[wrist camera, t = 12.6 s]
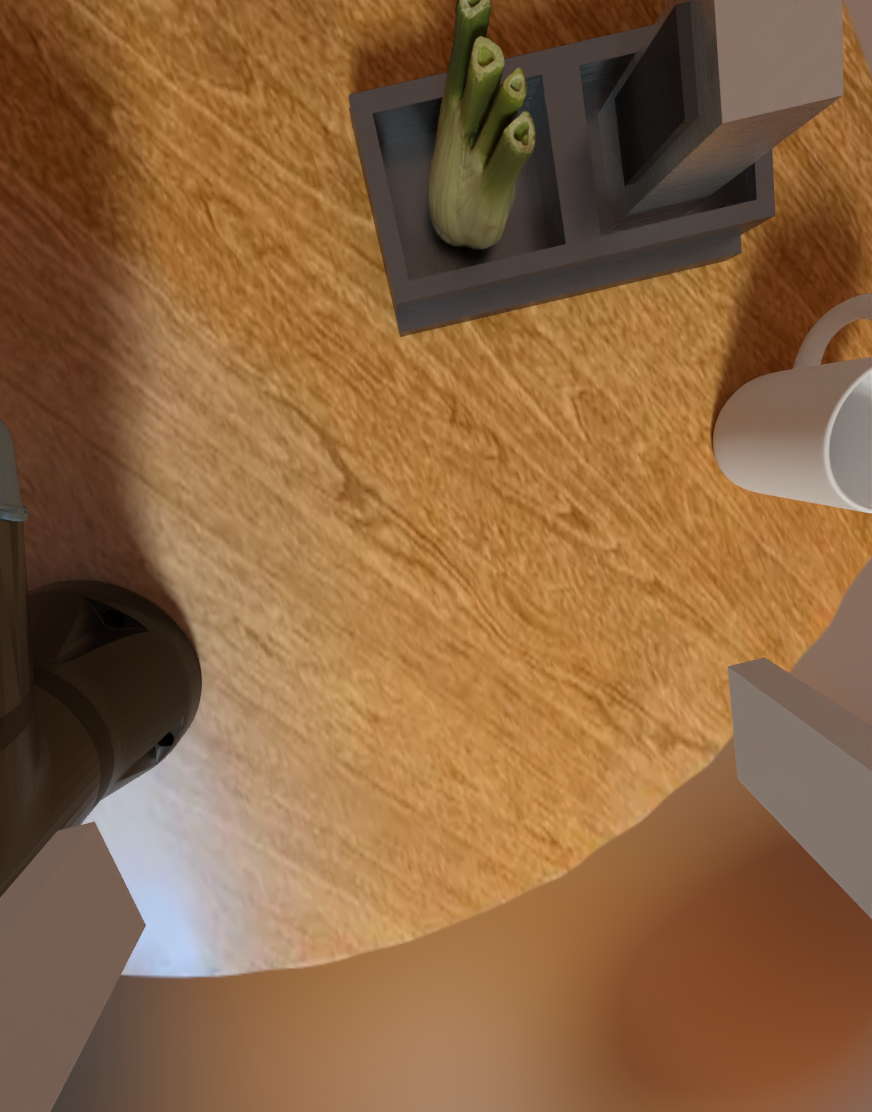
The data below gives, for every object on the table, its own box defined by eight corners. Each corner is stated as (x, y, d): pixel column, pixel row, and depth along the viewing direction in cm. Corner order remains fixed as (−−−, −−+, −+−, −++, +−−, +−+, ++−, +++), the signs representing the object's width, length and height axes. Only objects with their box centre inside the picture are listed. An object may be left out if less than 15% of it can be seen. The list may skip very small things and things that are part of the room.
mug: (738, 306, 34) (879, 255, 24) (851, 324, 35) (1032, 282, 25) (695, 484, 37) (805, 505, 27) (800, 497, 37) (944, 522, 27)
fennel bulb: (426, 146, 29) (442, -40, 17) (510, 152, 29) (580, -28, 18) (424, 258, 31) (438, 154, 19) (504, 262, 31) (566, 162, 19)
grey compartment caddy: (400, 336, 33) (399, 283, 21) (351, 123, 30) (317, -85, 18) (726, 260, 33) (914, 163, 21) (711, 40, 30) (920, -221, 18)
